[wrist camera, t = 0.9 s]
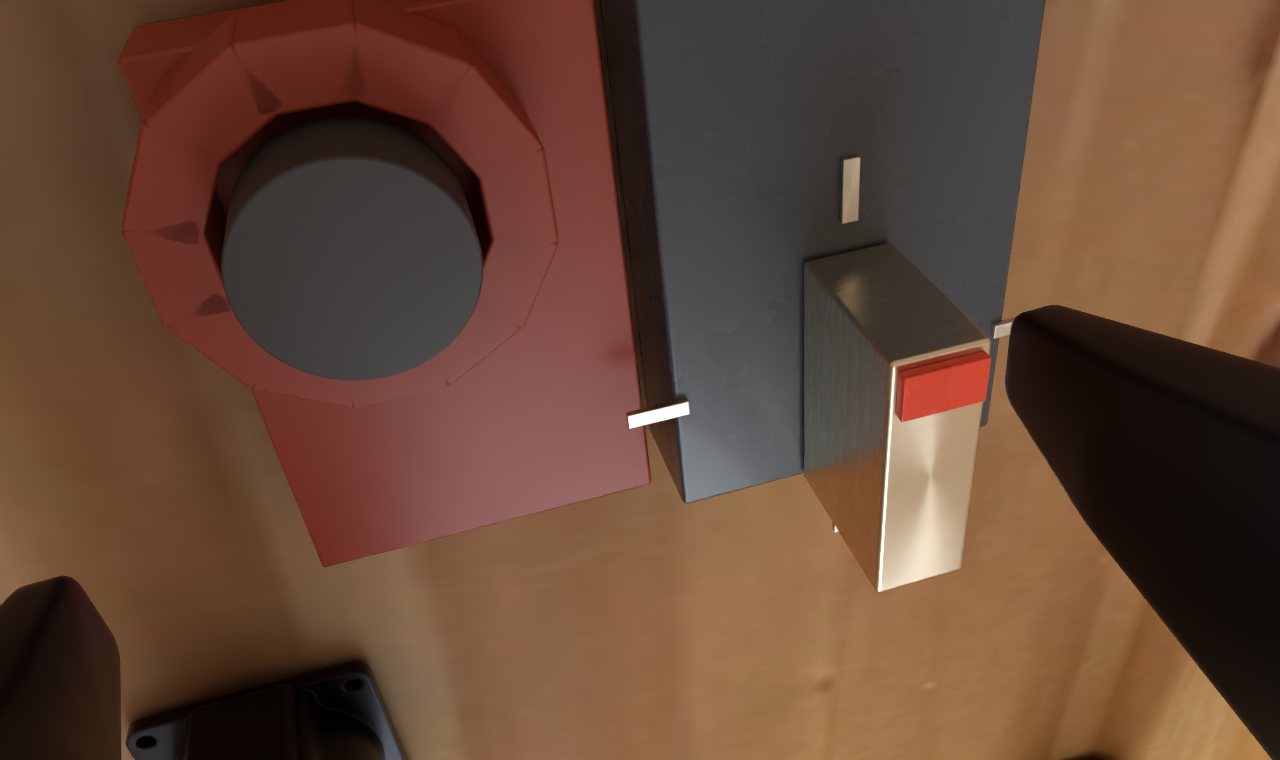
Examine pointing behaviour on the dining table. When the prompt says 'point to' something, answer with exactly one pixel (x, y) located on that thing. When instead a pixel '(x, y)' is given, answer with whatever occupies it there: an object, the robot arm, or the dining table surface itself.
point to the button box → (505, 224)
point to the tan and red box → (891, 411)
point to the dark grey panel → (802, 191)
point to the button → (350, 250)
